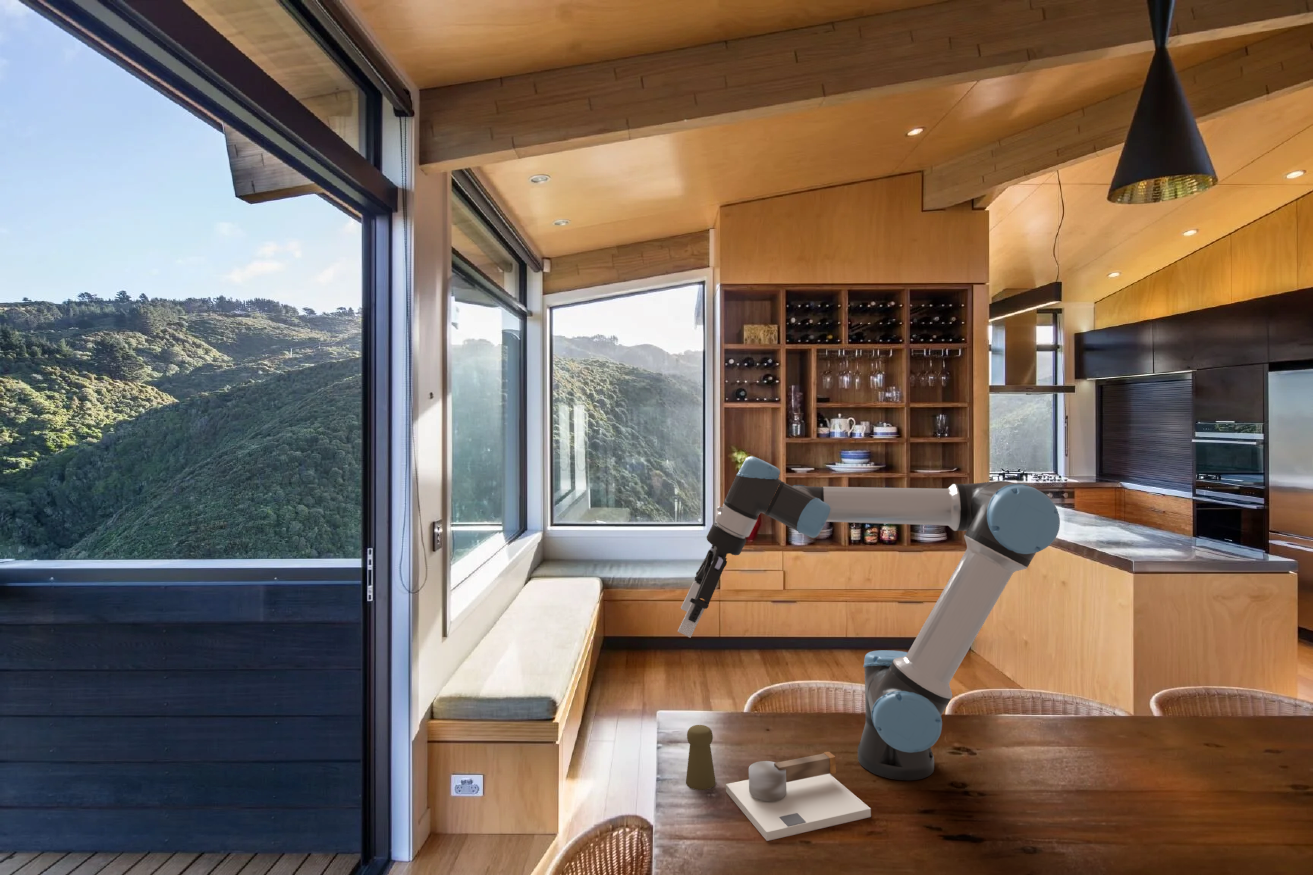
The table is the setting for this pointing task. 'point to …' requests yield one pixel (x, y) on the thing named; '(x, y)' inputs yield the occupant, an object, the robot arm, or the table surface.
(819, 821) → the base plate
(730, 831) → the table surface
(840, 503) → the robot arm
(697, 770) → the olive pawn
